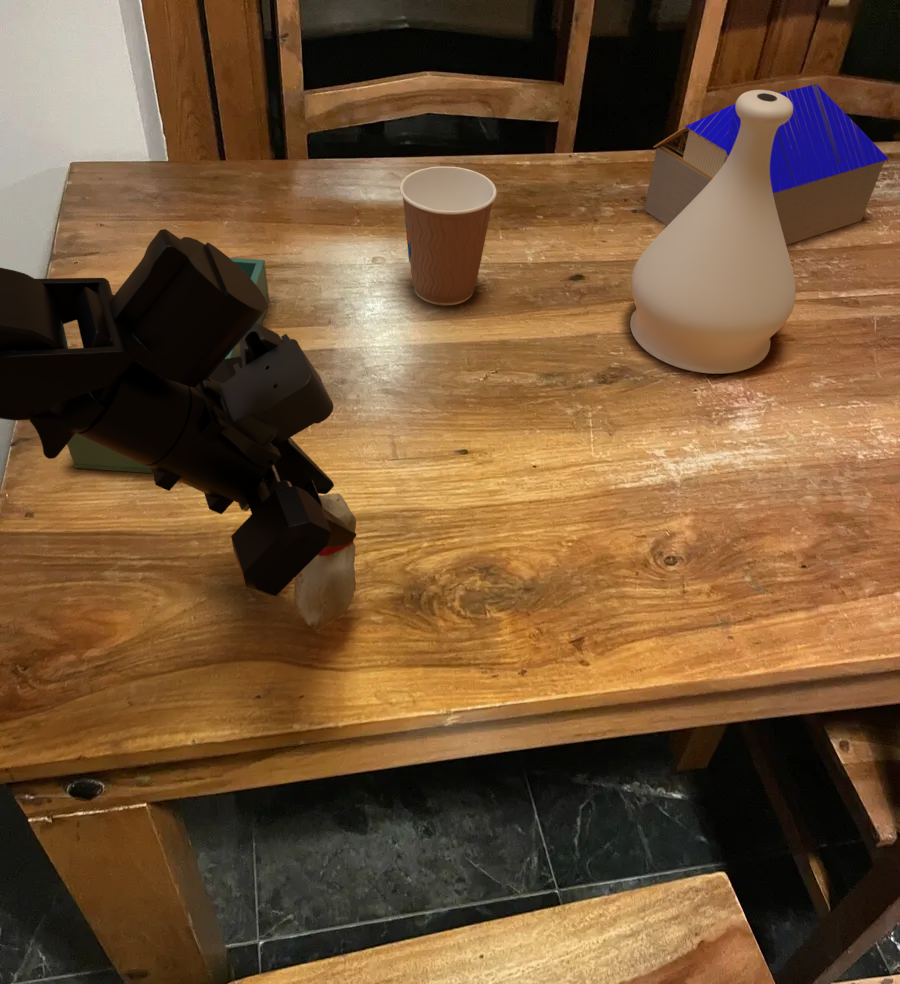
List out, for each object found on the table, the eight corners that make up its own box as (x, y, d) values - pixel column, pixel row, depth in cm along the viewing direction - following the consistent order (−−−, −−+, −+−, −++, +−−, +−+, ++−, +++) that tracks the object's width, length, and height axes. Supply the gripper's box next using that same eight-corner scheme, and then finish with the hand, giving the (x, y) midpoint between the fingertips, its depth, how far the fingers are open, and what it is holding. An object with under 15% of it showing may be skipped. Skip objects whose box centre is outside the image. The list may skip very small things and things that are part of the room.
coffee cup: (431, 257, 113) (434, 157, 104) (504, 284, 109) (514, 183, 100) (381, 294, 107) (380, 192, 98) (457, 325, 104) (463, 221, 94)
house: (723, 266, 114) (762, 135, 102) (640, 209, 123) (667, 81, 111) (864, 221, 123) (914, 95, 112) (777, 170, 132) (815, 48, 120)
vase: (766, 296, 110) (844, 68, 91) (789, 386, 99) (882, 146, 80) (619, 284, 111) (666, 53, 92) (625, 371, 99) (679, 129, 80)
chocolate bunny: (384, 573, 74) (386, 481, 66) (323, 637, 70) (317, 546, 62) (329, 543, 76) (325, 449, 68) (266, 603, 71) (253, 510, 64)
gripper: (284, 423, 49) (464, 526, 60) (210, 247, 60) (374, 362, 72) (159, 560, 53) (351, 633, 64) (111, 370, 64) (282, 461, 75)
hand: (340, 513), depth 69 cm, fingers closed on chocolate bunny, 5 cm apart
